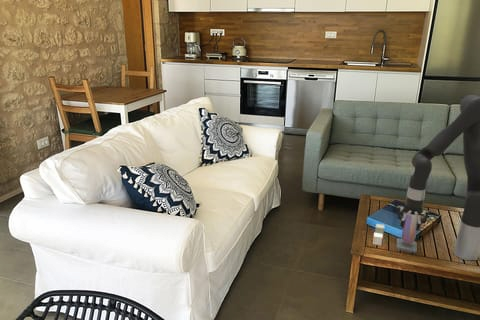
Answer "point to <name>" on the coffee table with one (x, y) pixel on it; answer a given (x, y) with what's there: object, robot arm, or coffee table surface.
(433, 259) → the coffee table surface
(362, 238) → the coffee table surface
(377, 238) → the cream block
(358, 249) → the coffee table surface
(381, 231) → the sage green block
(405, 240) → the beverage can
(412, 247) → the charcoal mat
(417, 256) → the coffee table surface
